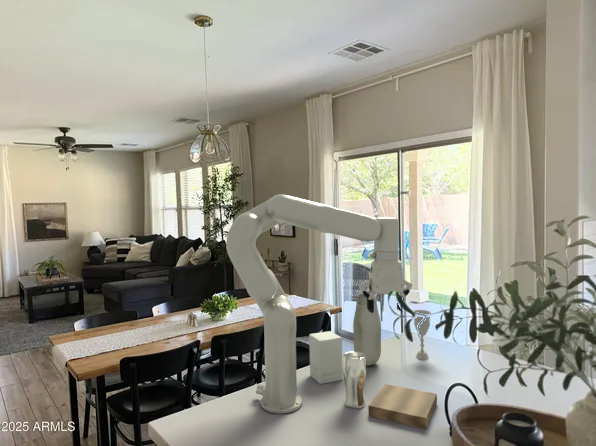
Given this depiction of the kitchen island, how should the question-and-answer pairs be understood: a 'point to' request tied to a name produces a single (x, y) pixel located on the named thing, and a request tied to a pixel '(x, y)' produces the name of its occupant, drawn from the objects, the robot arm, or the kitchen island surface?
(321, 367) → the supplement box
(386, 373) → the kitchen island surface
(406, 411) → the walnut board
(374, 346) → the grey bottle
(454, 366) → the kitchen island surface
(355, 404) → the beer glass
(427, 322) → the chalice
